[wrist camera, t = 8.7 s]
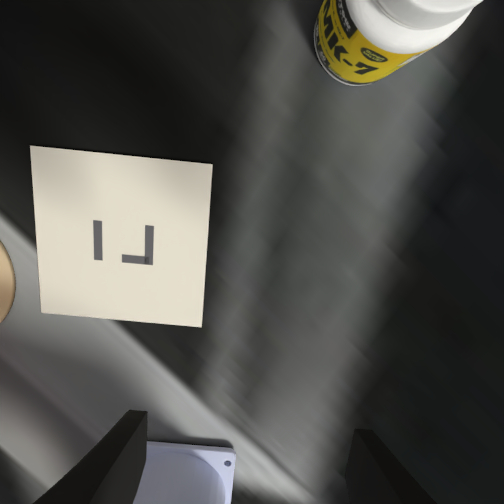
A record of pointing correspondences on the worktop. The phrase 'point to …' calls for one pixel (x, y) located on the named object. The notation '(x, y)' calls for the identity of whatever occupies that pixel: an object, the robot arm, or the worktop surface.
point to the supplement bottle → (381, 34)
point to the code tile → (121, 235)
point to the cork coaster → (6, 283)
